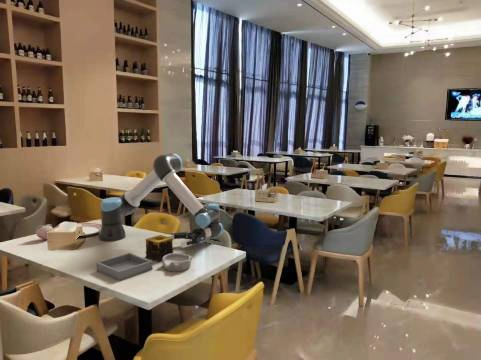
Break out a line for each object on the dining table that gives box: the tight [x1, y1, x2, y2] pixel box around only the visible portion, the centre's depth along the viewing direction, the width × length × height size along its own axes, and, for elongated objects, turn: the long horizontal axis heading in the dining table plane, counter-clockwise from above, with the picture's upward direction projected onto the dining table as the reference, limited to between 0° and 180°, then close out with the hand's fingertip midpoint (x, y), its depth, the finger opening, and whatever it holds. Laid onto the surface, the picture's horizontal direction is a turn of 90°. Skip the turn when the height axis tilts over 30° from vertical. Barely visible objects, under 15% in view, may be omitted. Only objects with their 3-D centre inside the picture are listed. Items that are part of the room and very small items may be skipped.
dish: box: [161, 252, 193, 272], centre depth 188 cm, size 14×14×5 cm
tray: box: [95, 252, 153, 282], centre depth 183 cm, size 18×18×4 cm
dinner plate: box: [76, 222, 102, 237], centre depth 246 cm, size 28×27×3 cm
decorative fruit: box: [35, 222, 54, 241], centre depth 230 cm, size 9×8×10 cm
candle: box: [145, 234, 174, 263], centre depth 201 cm, size 10×10×10 cm
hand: (172, 242), depth 207 cm, fingers open, 13 cm apart
